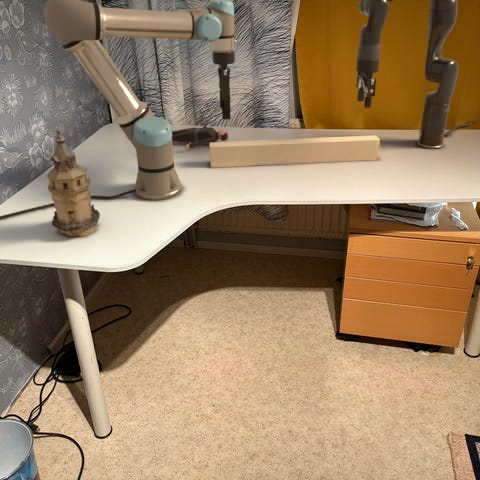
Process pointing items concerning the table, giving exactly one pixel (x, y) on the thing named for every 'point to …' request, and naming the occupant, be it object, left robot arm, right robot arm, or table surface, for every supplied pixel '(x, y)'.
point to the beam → (294, 151)
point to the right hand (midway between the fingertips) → (363, 104)
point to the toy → (198, 136)
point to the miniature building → (70, 193)
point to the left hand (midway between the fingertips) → (225, 113)
